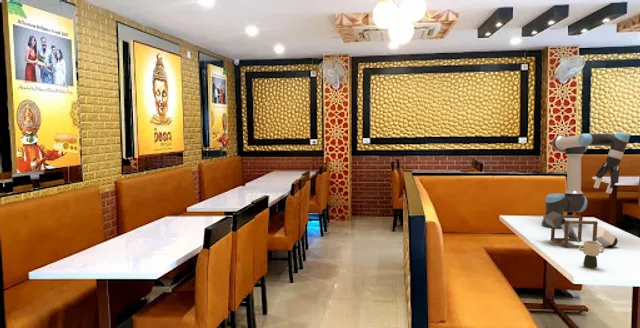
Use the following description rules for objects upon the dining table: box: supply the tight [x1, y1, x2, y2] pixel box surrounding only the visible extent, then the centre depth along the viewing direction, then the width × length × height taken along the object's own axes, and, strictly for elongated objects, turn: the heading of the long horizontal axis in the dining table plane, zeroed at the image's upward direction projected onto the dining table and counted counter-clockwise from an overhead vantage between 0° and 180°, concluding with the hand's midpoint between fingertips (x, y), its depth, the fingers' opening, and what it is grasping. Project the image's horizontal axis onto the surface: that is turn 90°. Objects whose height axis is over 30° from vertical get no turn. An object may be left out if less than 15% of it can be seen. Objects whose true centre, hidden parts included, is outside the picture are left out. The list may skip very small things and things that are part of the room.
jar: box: [590, 225, 618, 249], centre depth 279 cm, size 9×8×12 cm
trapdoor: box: [543, 211, 581, 243], centre depth 284 cm, size 14×19×8 cm
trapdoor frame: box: [550, 214, 599, 249], centre depth 284 cm, size 18×18×16 cm
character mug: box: [578, 240, 605, 269], centre depth 239 cm, size 11×7×13 cm, turn 68°
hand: (602, 190), depth 289 cm, fingers open, 13 cm apart
